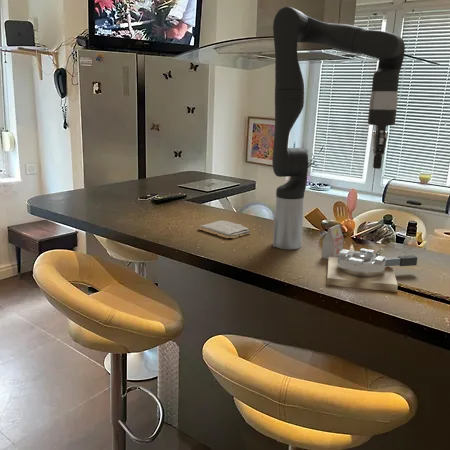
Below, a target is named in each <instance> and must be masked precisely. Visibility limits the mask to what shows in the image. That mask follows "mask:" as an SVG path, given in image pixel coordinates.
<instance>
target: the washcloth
mask: <svg viewBox="0 0 450 450" xmlns="http://www.w3.org/2000/svg"><path fill="white" fill-rule="evenodd" d="M199 226H200V227H202V228H205V229H208V230H211V231H214V232H217V233H219V234H223V235H225V236H229V237H230V236H236V235H240V234H246V233H251V231H250V230H249V228H248V227H245V226H244V225H242V224H241V223H235V222H231V221H228V220H222V219H221V220H217V221H214V222H211V223H204V224H201V225H199Z"/></svg>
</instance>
